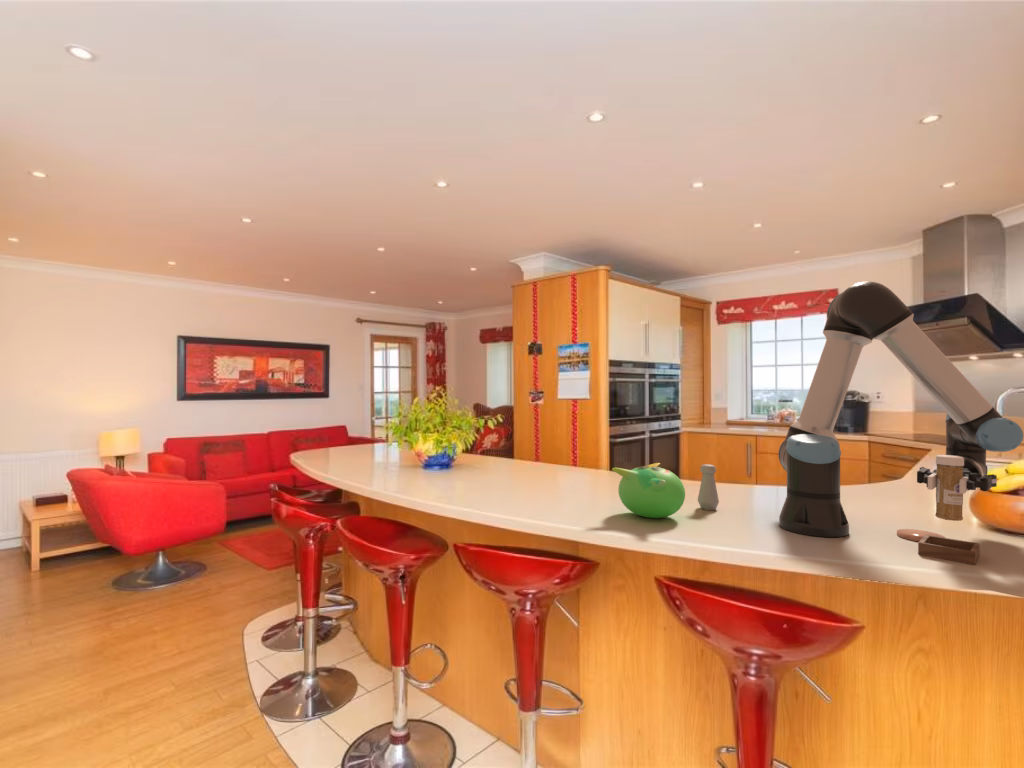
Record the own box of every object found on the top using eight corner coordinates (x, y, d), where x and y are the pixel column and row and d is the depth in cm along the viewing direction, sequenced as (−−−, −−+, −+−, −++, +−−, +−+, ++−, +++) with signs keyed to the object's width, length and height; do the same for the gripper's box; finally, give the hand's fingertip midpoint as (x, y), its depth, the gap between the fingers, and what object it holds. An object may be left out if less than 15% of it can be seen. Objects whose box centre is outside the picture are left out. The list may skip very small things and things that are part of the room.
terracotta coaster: (913, 542, 116) (913, 539, 116) (888, 531, 125) (888, 528, 125) (955, 543, 115) (955, 540, 115) (926, 532, 124) (926, 529, 124)
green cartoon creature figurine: (694, 517, 139) (694, 463, 139) (667, 529, 126) (667, 470, 126) (635, 506, 151) (635, 457, 151) (605, 517, 138) (605, 463, 138)
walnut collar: (975, 565, 101) (975, 552, 101) (918, 554, 107) (918, 542, 107) (979, 555, 107) (979, 543, 107) (925, 545, 113) (925, 534, 113)
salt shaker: (720, 511, 145) (720, 466, 145) (699, 510, 146) (699, 465, 146) (716, 506, 151) (716, 463, 151) (696, 506, 152) (696, 463, 152)
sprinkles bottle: (956, 522, 104) (956, 457, 104) (930, 516, 108) (931, 454, 108) (967, 520, 106) (968, 456, 106) (942, 515, 110) (943, 454, 110)
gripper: (1011, 495, 113) (1004, 511, 97) (913, 483, 126) (893, 495, 110) (1011, 462, 113) (1004, 472, 97) (914, 453, 126) (893, 461, 110)
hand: (945, 484), depth 104 cm, fingers closed on sprinkles bottle, 4 cm apart
